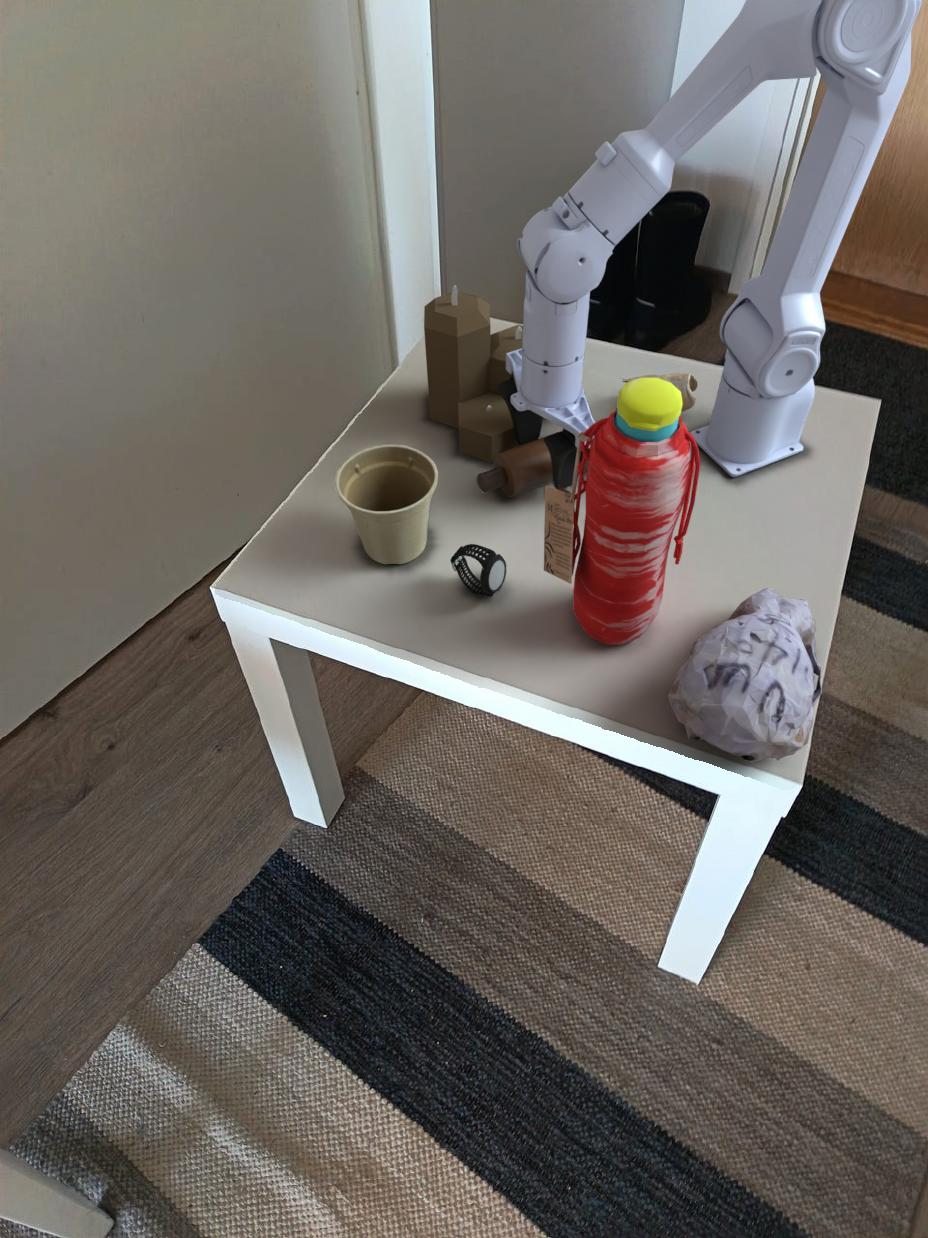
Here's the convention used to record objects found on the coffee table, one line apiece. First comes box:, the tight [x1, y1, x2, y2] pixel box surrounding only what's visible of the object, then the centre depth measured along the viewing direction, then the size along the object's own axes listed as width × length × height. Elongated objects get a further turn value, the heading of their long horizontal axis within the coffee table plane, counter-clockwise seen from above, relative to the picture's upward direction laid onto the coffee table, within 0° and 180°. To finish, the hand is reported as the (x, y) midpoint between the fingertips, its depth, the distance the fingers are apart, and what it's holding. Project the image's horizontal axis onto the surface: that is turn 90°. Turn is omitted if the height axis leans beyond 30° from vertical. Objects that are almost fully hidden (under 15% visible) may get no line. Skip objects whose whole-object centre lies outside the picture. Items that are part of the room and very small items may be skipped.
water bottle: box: [543, 378, 701, 645], centre depth 69 cm, size 12×8×25 cm, turn 71°
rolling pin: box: [476, 430, 588, 498], centre depth 89 cm, size 15×5×5 cm, turn 116°
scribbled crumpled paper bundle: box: [667, 587, 823, 764], centre depth 69 cm, size 19×12×10 cm, turn 137°
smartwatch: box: [449, 543, 507, 598], centre depth 79 cm, size 4×5×5 cm
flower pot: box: [334, 443, 439, 565], centre depth 82 cm, size 9×9×9 cm
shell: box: [621, 373, 698, 413], centre depth 96 cm, size 8×4×5 cm, turn 84°
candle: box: [423, 285, 545, 464], centre depth 92 cm, size 14×14×15 cm
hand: (545, 463), depth 89 cm, fingers open, 7 cm apart
